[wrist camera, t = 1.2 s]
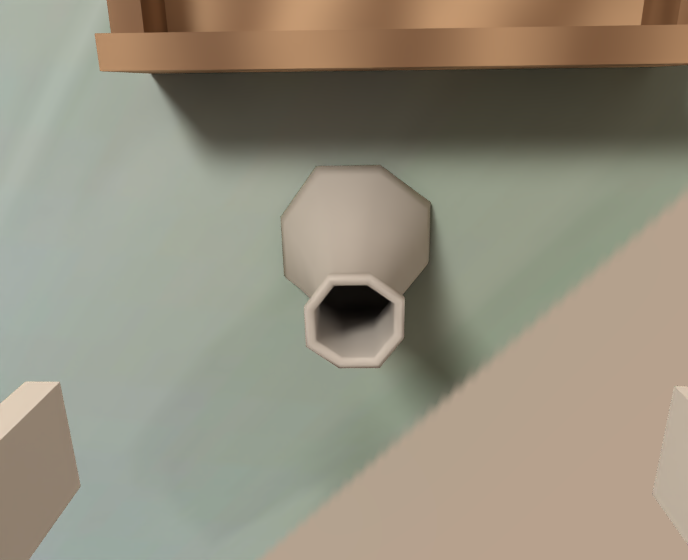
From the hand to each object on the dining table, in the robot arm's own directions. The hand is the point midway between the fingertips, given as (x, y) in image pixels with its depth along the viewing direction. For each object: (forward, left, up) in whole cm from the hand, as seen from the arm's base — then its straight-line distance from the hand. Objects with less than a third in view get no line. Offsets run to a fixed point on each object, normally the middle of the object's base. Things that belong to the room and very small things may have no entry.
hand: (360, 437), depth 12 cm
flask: (0, 0, -16) cm, 15 cm away
